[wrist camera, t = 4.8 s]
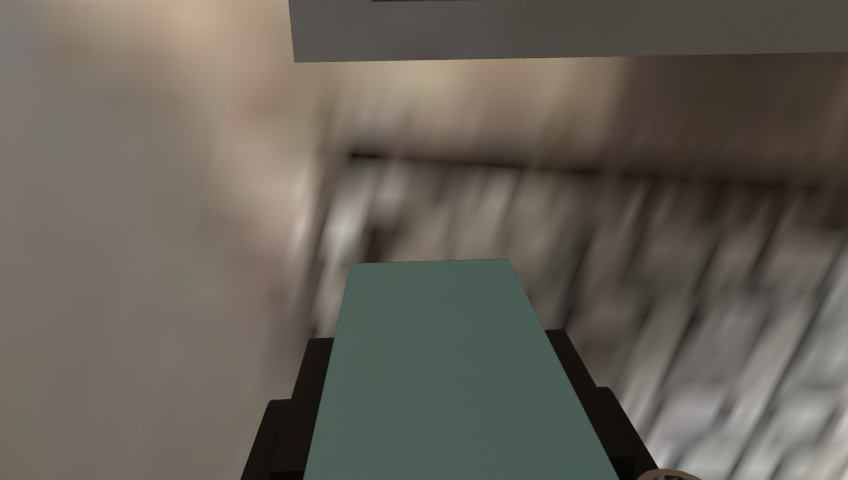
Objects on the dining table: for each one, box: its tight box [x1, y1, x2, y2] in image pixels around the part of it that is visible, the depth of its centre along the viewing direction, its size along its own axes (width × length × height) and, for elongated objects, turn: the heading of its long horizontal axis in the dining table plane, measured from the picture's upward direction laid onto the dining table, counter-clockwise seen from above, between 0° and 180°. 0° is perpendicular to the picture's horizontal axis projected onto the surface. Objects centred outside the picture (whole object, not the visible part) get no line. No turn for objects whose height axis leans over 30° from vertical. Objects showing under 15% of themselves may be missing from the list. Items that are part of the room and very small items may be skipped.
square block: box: [303, 259, 619, 480], centre depth 10 cm, size 4×4×10 cm
